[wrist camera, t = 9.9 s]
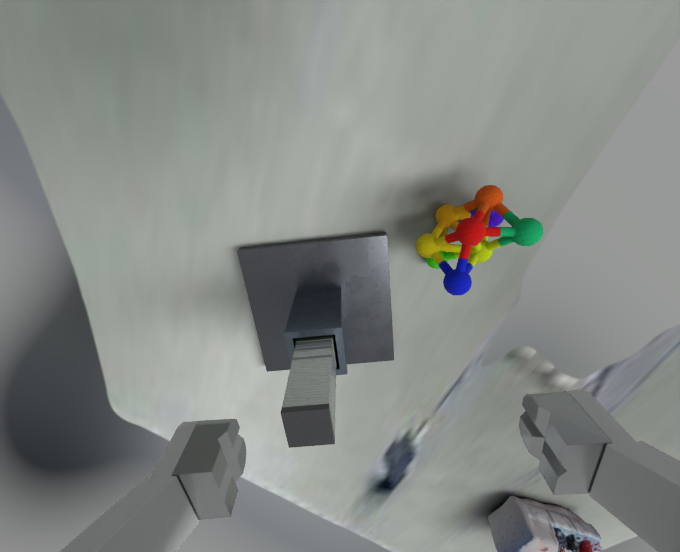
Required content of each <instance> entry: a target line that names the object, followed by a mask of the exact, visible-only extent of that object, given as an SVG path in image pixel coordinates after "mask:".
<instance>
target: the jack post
mask: <svg viewBox="0 0 680 552" xmlns="http://www.w3.org/2000/svg"><path fill="white" fill-rule="evenodd" d="M336 368H337V362H336V337H335V334H334V335H323V336H312V337H302V338H296V345H295V349H294V355H293V358H292V364H291V368H290V373H289V377H288V382H287V387H286V391H285V396H284V400H283V405H282V410H281V416H282V420H283V424H284V429H285V433H286V437H287V441H288V445H289V448H290V447H302V446H315V445H328V444H335V397H336Z"/></svg>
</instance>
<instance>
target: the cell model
mask: <svg viewBox="0 0 680 552" xmlns="http://www.w3.org/2000/svg"><path fill="white" fill-rule="evenodd" d="M488 521H489V524H490V528H491V532H492V536H493V539H494V543H495V546H496V549H497V551H498V552H593V551H603V549H602V547H601V546H599V545H600V540H601V537H600V535H599V533H598V532H597V531H596V529H595V528H594V527H593V526H592V525H591V524H587V523H586V522H584V521H583V520H582V519H581V518H580V517H579V516H578V515H577V514H575V513H573V512H570V511H568V510H566V509H564V508H562V507H560V506H556V505H550V504H548V505H547V504H542V503H539V502H537V501H534V500H531V499H527V498H526V499H520V498H517V497H516V496H510V497H509V498H508V499H507V501H506V502H505V503H504V504H503V505H502V506H501V507H499V508H498V509H496V510H495V511H494V512H492V513H491V514H490V515H489V516H488Z"/></svg>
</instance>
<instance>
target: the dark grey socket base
mask: <svg viewBox="0 0 680 552" xmlns="http://www.w3.org/2000/svg"><path fill="white" fill-rule="evenodd" d="M237 252H238V256H239V260H240V264H241V268H242V272H243V276H244V280H245V284H246V288H247V292H248V296H249V300H250V305H251V309H252V313H253V317H254V321H255V325H256V329H257V333H258V337H259V341H260V345H261V349H262V353H263V357H264V361H265V366H266V370H267V371H278V370H289V369H290V368H291V364H292V358H293V355H294V349H295V345H296V338H302V337H312V336H323V335H334V334H335V337H336V362H337V368H336V375H343V374H347V364H355V363H366V362H378V361H389V360H394V349H393V331H392V313H391V295H390V277H389V259H388V241H387V234H386V232H384V233H375V234H365V235H356V236H347V237H337V238H328V239H319V240H309V241H300V242H291V243H281V244H272V245H263V246H253V247H244V248H240V249H239V250H238V251H237Z"/></svg>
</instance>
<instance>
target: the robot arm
mask: <svg viewBox="0 0 680 552" xmlns="http://www.w3.org/2000/svg"><path fill="white" fill-rule="evenodd" d="M522 405H523V407H524V408H525V410H526V411H525V412H524V413H523V414H522V415H521V416H520V422H519V428H520V433H521V437H522V440H523V442H524V445H525V446H526V448H527V450H528V452H529V453H530V454H531V455H533V456H534V457H536V458H537V459H539V460H540V463H539V471H540V472H541V474H542V476H543V477H544V479H545V481H546V482H547V484H548V486H549V488H550V489H551V491H552V493H553V494H554V495H559V494H585V493H590V494H589V496H591V497H592V498H593V499H594V500H595V501H597V502H598V503H599V504H600V505H601V506H603V507H604V508H605V509H606V510H608V511H609V512H610V513H611V514H612V515H614V516H615V517H616V518H617V519H619V520H620V521H621V522H622V523H623V524H625V525H626V526H627V527H628V528H630V529H631V530H632V531H633V532H634V533H636V534H637V535H638V536H639V537H640V538H642V539H643V540H644V541H645V542H647V543H648V544H649V545H650V546H651V547H653V548H654V549H655V550H656V551H658V552H680V461H679V460H677V459H675V458H673V457H671V456H669V455H667V454H665V453H663V452H662V451H660V450H658V449H656V448H654V447H652V446H650V445H648V444H647V443H645V442H643V441H639V442H636V441H635V440H634V439H633V438H632V437H631V436H630V435H629V434H628V433H627V432H626V431H625V429H624V428H623V427H622V426H621V425H620V424H619V423H618V422H617V421H616V420H615V419H614V418H613V417H612V416H611V415H610V414H609V413H608V412H607V411H606V410H605V408H604V407H603V406H602V405H601V404H600V403H599V402H598V401H597V400H596V399H595V398H594V397H593V396H592V395H591V394H590V393H589V392H588V391H586V390H584V389H583V390H572V391H564V392H562V391H558V392H548V393H537V394H527V395H526V396H525V397H524V398H523V403H522ZM239 428H240V427H239V424H238V422H237V419H223V420H205V421H192V422H183V423H182V424H181V425H179V426H178V428H177V430H176V431H175V433H174V435H173V437H172V439H171V441H170V443H169V444H168V446H167V448H166V450H165V452H164V454H163V455H162V457H161V459H160V461H159V463H158V465H157V467H156V469H155V470H154V472H153V474H152V476H151V478H145V479H144V480H142V481H141V482H140V483H139V484H138V485H137V486H136V487H134V488H133V489H132V490H131V491H130V492H128V493H127V494H126V495H125V496H124V497H123V498H121V499H120V500H119V501H118V502H117V503H116V504H114V505H113V506H112V507H111V508H110V509H109V510H107V511H106V512H105V513H104V514H103V515H102V516H100V517H99V518H98V519H97V520H96V521H95V522H94V523H92V524H91V525H90V526H89V527H88V528H86V529H85V530H84V531H83V532H82V533H81V534H79V535H78V536H77V537H76V538H75V539H74V540H72V541H71V542H70V543H69V544H68V545H67V546H65V547H64V548H63V549H62V550H61V551H60V552H176V551H177V550H178V548H179V547H180V546H181V545H182V543H183V542H184V541H185V539H186V538H187V537H188V536H189V534H190V533H191V532H192V531H193V529H194V528H195V527H196V525H197V524H198V523H199V520H202V519H212V518H222V517H231V514H232V510H233V506H234V503H235V499H236V496H237V492H238V489H237V486H236V484H235V482H236V481H237V480H238V479H239V477H240V476H241V475H242V474H243V471H244V467H245V461H246V446H245V442H244V439H243V438H242V437H241V436H239V435H238V431H239Z"/></svg>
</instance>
